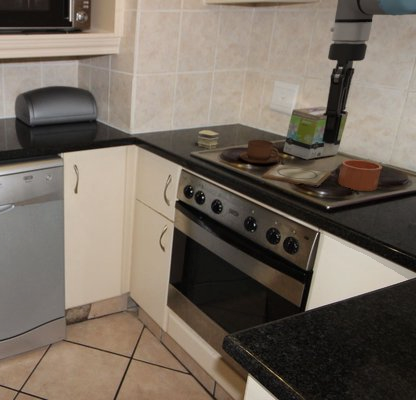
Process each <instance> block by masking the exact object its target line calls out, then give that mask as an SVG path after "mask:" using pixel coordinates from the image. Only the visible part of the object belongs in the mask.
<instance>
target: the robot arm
mask: <svg viewBox="0 0 416 400" xmlns="http://www.w3.org/2000/svg"><path fill="white" fill-rule="evenodd" d="M336 4H337V5H336V10H335V15H334V24H333V27H331V28H330V32H332V34H331V41H332V42H333V43H331V44H330V45H329V49H328V56H327V59H328V60H330V61H336V65H335V67H334V68H332V71H331V72H332V73H331V74H330V81H329V82H330V83H329V90H328V96H327V103H326V107H327V108H326V112H325V113H324V116H327V118H326V124H325V129H324V134H323V140H322V142H329V143H335V141H337V140H338V135H339V130H340V125H341V120H342V115H340V114H346V113H347V112H348V111H346V109H347V107H346V106H347V102H348V98H349V94H350V89H351V85H352V80H353V77H354V74H355V68H354V67H353V64H354V62H361V61H364V60H365V58H366V54H367V50H368V49H367V47H368V45H367V43H366V42H368V41H369V40H370V37H371V31H372V25H373V24H372V23H373V18H374V16H394V17H395V16H408V15H409V16H410V15H411V16H412V15H416V0H337V3H336ZM341 104H342V107H341ZM340 108H341V113H340ZM339 115H340V116H339Z"/></svg>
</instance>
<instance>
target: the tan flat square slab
mask: <svg viewBox="0 0 416 400" xmlns="http://www.w3.org/2000/svg"><path fill="white" fill-rule="evenodd" d="M329 176H330V177H332V173H331V172H326V171H320V170H315V169H308V168H303V167H297V166H292V165H285V164H279V163H277V164H275V165H274V166H273V167H270V169H269V170H267V171H266V172H265V173H263V174H261V178H262V179H267V180H272V181H277V182H283V183H289V184H294V185H298V184H300V183H304V184H310V185H317V186H319V185H321V183H322V182H324V181H325V180H326V179H327V178H328V177H329ZM330 177H329V178H330ZM329 178H328V179H329ZM328 179H327V180H328ZM327 180H326V181H327ZM326 181H325V182H326ZM325 182H324V183H325ZM321 186H322V185H321Z"/></svg>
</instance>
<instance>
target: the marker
mask: <svg viewBox="0 0 416 400" xmlns="http://www.w3.org/2000/svg"><path fill="white" fill-rule="evenodd" d="M341 107H342V104H341ZM340 113H341V108H340ZM339 116H340V115H339ZM333 148H334V143H329V142H325V143H324V148H323V153H322V154H323V155H329V156H333V155H332V153H333Z"/></svg>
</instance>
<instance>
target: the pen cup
mask: <svg viewBox="0 0 416 400" xmlns="http://www.w3.org/2000/svg"><path fill="white" fill-rule="evenodd" d="M382 170H383V166H382V165H381V164H379V163H376V162H373V161H369V160H363V159H346V160H343V161H341V164H340V169H339V172H338V173H339V174H338V178H337V184H338V183H339V184H341V185H343V186H345V187H349V188H351V189H350V190H352V189H353V190H352V191H359V192H360V191H361V192H372V191H376V190H377V189H378V186H379V182H380V178H381V175H382ZM339 184H338V185H339ZM345 187H344V188H345Z"/></svg>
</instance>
